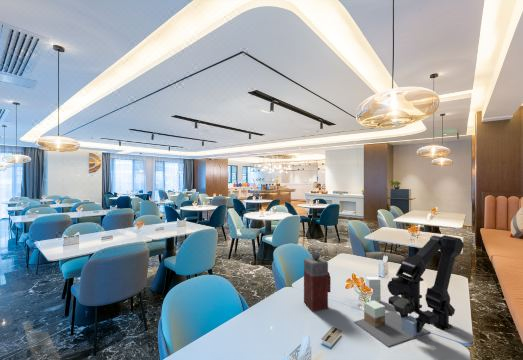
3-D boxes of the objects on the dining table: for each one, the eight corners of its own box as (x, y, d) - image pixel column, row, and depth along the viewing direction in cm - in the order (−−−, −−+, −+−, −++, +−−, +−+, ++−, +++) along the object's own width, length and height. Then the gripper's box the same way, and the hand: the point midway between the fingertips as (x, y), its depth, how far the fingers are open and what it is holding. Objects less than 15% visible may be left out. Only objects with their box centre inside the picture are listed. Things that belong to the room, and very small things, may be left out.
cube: (410, 326, 109) (410, 315, 109) (421, 333, 104) (421, 321, 104) (402, 329, 107) (402, 317, 107) (413, 336, 103) (413, 323, 103)
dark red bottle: (332, 308, 126) (332, 251, 126) (311, 311, 122) (312, 253, 122) (322, 300, 134) (323, 247, 134) (303, 302, 131) (303, 248, 131)
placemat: (392, 311, 122) (392, 310, 122) (429, 332, 106) (429, 331, 106) (353, 322, 113) (353, 321, 113) (388, 347, 97) (388, 346, 97)
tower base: (374, 317, 116) (374, 308, 116) (385, 324, 111) (385, 315, 111) (364, 320, 114) (364, 311, 114) (374, 327, 109) (374, 318, 109)
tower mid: (374, 308, 116) (374, 300, 116) (385, 315, 111) (385, 306, 111) (364, 311, 114) (364, 302, 114) (374, 318, 109) (374, 308, 109)
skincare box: (376, 298, 136) (376, 276, 136) (380, 302, 131) (380, 279, 131) (365, 299, 135) (365, 276, 135) (369, 302, 131) (369, 279, 131)
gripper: (379, 286, 111) (379, 321, 111) (420, 305, 94) (420, 347, 94) (397, 282, 116) (397, 316, 116) (439, 300, 98) (439, 340, 98)
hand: (411, 329), depth 106 cm, fingers open, 6 cm apart
